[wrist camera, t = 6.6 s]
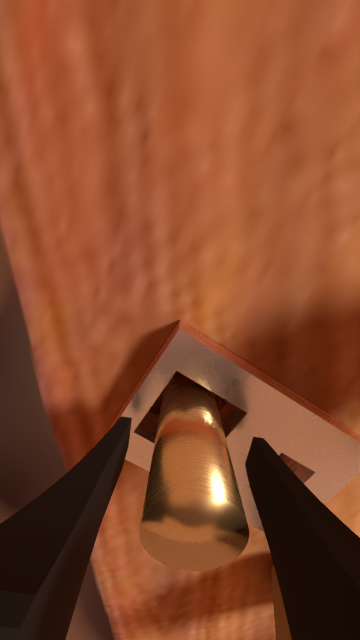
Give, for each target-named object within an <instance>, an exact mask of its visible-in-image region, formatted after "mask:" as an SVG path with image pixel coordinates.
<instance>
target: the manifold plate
mask: <svg viewBox="0 0 360 640" xmlns="http://www.w3.org/2000/svg"><path fill="white" fill-rule="evenodd" d="M176 371H178V372H180V373H181V374H183V375H185V376H186V377H188V378H190V379H192V380H193V381H195V382H197V383H198V384H200V385H202V386H203V387H205V388H207V389H208V390H210V391H212V392H213V393H215V394H217V395H218V396H220V397H222V398H223V399H225V400H227V403H226V404H225V405H224V406H223V407H222V409H221V410H220V411H219V415H220V419H221V422H222V426H223V430H224V434H225V438H226V442H227V446H228V450H229V454H230V457H231V461H232V465H233V469H234V473H235V477H236V481H237V485H238V489H239V492H240V496H241V500H242V504H243V508H244V512H245V516H246V520H247V523H248V524H250V525H252V526H254V527H256V528H258V529H260V530H262V531H264V529H263V526H262V523H261V520H260V517H259V514H258V511H257V508H256V505H255V501H254V498H253V495H252V492H251V489H250V485H249V481H248V477H247V472H246V467H245V462H246V459H247V456H248V452H249V449H250V446H251V442H252V439H253V437H260V438H264V439H265V440H266V441H267V442H268V444H269V445H270V446H271V447H272V448H273V449H274V451H275V452H276V453H277V454H278V455H280V454H281V453H283V454H282V455H281V456H280V457H281V459H282V460H283V461H284V462H285V463H286V464H287V466H288V467H289V468H290V469H291V470H292V471H293V472H294V473H295V475H296V476H297V477H298V478H299V479H300V480H301V481H302V482H303V483H304V484H305V485H306V487H307V488H308V489H309V490H310V491H311V492H312V493H313V494H314V495H315V496H316V497H317V498H318V499H319V500H320V501H321V502H322V503H323V504H325V503H326V502H328V501H329V500H330V499H331V498H332V497H333V496H334V495H335V494H337V493H338V492H339V491H340V490H341V489H342V488H343V487H345V486H346V485H347V484H348V483H349V482H350V481H351V480H352V479H354V478H355V477H356V476H357V475H358V474H359V473H360V436H359V435H357V434H356V433H355V432H354V431H353V430H352V429H351V428H350V427H349V426H347V425H346V424H344V423H343V422H341V421H340V420H338V419H336V418H335V417H333V416H332V415H330V414H328V413H327V412H325V411H324V410H322V409H321V408H319V407H317V406H316V405H314V404H313V403H311V402H310V401H308V400H306V399H305V398H303V397H302V396H300V395H298V394H297V393H295V392H294V391H292V390H291V389H289V388H287V387H286V386H284V385H283V384H281V383H280V382H278V381H276V380H275V379H273V378H272V377H270V376H268V375H267V374H265V373H264V372H262V371H261V370H259V369H257V368H256V367H254V366H253V365H251V364H250V363H248V362H246V361H245V360H243V359H242V358H240V357H238V356H237V355H235V354H234V353H232V352H231V351H229V350H227V349H226V348H224V347H223V346H221V345H220V344H218V343H216V342H215V341H213V340H212V339H210V338H208V337H207V336H205V335H204V334H202V333H201V332H199V331H197V330H196V329H194V328H193V327H191V326H190V325H188V324H186V323H185V322H183V321H182V320H179V322H178V323H177V325H176V326H175V328H174V329H173V331H172V332H171V334H170V335H169V337H168V338H167V340H166V341H165V343H164V344H163V346H162V348H161V349H160V351H159V352H158V354H157V355H156V357H155V358H154V360H153V361H152V363H151V364H150V366H149V367H148V369H147V370H146V372H145V373H144V375H143V376H142V378H141V379H140V381H139V382H138V384H137V385H136V387H135V388H134V390H133V391H132V393H131V394H130V396H129V397H128V399H127V400H126V402H125V403H124V405H123V406H122V408H121V409H120V411H119V412H118V414H117V415H116V417H115V418H114V420H113V422H112V424H111V426H110V428H109V430H110V429H111V428H112V427H113V425H114V424H115V423H116V422H117V420H118V419H119V418H120V417H121V416H123V417H129V418H132V421H131V430H130V438H129V446H128V450H127V453H126V457H125V460H127V461H129V462H131V463H133V464H135V465H137V466H139V467H141V468H143V469H145V470H147V471H149V472H150V466H151V461H152V455H153V449H154V443H155V438H156V432H157V426H158V421H159V416H157V415H156V414H154V413H152V412H150V411H149V409H150V408H151V406H152V405H153V404H154V402H155V401H156V399H157V398H158V396H159V395H160V394H161V392H162V391H163V389H164V388H165V387H166V385H167V384H168V382H169V381H170V379H171V378H172V377H173V375H174V374H175V372H176ZM109 430H108V431H109Z"/></svg>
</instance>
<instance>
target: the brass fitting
mask: <svg viewBox="0 0 360 640" xmlns="http://www.w3.org/2000/svg"><path fill="white" fill-rule="evenodd" d="M248 538H249V528H248V524H247V520H246V516H245V512H244V508H243V504H242V500H241V496H240V492H239V489H238V485H237V481H236V477H235V473H234V469H233V465H232V461H231V457H230V454H229V450H228V446H227V442H226V438H225V434H224V430H223V426H222V422H221V419H220V415H219V411H218V407H217V403H216V399H215V395H214V393H213V392H212V391H210V390H208V389H207V388H205V387H203V386H202V385H200V384H198V383H197V382H195V381H193V380H192V379H190V378H188V377H186V376H185V375H183V374H181V375H178V376H176V377H174V378H173V379H171V380H170V381H169V382H168V384H167V385H166V387H165V389H164V392H163V398H162V403H161V409H160V415H159V421H158V426H157V432H156V438H155V443H154V449H153V455H152V461H151V466H150V472H149V478H148V483H147V489H146V495H145V501H144V506H143V512H142V518H141V523H140V539H141V542H142V544H143V546H144V548H145V549H146V551H147V552H148V553H149V554H150V555H151V556H152V557H153V558H155V559H156V560H157V561H159V562H161V563H163V564H165V565H167V566H169V567H172V568H176V569H180V570H186V571H205V570H211V569H215V568H218V567H221V566H223V565H226V564H228V563H230V562H231V561H233V560H234V559H236V558H237V557H238V556H239V555H240V554H241V553H242V551H243V550H244V548H245V547H246V545H247V542H248Z"/></svg>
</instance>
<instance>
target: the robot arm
mask: <svg viewBox="0 0 360 640" xmlns="http://www.w3.org/2000/svg"><path fill="white" fill-rule="evenodd" d="M131 421H132V418H129V417H123V416H121V417H120V418H119V419H118V420H117V422H116V423H115V424H114V425H113V427H112V428H111V429H110V430H109V431H108V432H107V434H106V435H105V436H104V437H103V438H102V439H101V440H100V441H99V442H98V443H97V445H96V446H95V447H94V448H93V449H92V450H91V451H90V452H89V453H88V454H87V455H86V456H85V457H84V458H83V459H82V460H81V461H80V462H78V463H77V464H76V465H75V466H74V467H73V468H72V469H71V470H70V471H69V472H67V473H66V474H65V475H64V476H63V477H62V478H61V479H59V480H58V481H57V482H56V483H55V484H53V485H52V486H51V487H50V488H48V489H47V490H46V491H45V492H44V493H42V494H41V495H40V496H38V497H37V498H36V499H34V500H33V501H32V502H30V503H29V504H28V505H26V506H25V507H23V508H22V509H21V510H19V511H18V512H16V513H15V514H14V515H12V516H11V517H9V518H8V519H7V520H5V521H4V522H2V523H1V524H0V640H65V639H66V635H67V632H68V629H69V625H70V622H71V619H72V615H73V612H74V608H75V605H76V602H77V598H78V595H79V592H80V589H81V585H82V582H83V579H84V576H85V572H86V569H87V566H88V563H89V559H90V556H91V553H92V550H93V547H94V543H95V540H96V537H97V534H98V531H99V528H100V525H101V522H102V519H103V517H104V514H105V511H106V509H107V506H108V504H109V501H110V498H111V496H112V493H113V491H114V488H115V486H116V483H117V480H118V478H119V475H120V473H121V470H122V467H123V464H124V460H125V457H126V453H127V450H128V446H129V438H130V430H131ZM245 467H246V472H247V477H248V481H249V485H250V489H251V492H252V495H253V498H254V501H255V505H256V508H257V511H258V514H259V517H260V520H261V523H262V526H263V529H264V532H265V535H266V538H267V541H268V545H269V548H270V552H271V555H272V559H273V563H274V567H275V571H276V575H277V579H278V583H279V587H280V591H281V595H282V599H283V604H284V608H285V612H286V616H287V621H288V625H289V630H290V634H291V639H292V640H360V538H359V537H358V536H357V535H356V534H355V533H354V532H353V531H351V530H350V529H349V528H348V527H347V526H346V525H345V524H344V523H343V522H342V521H341V520H340V519H339V518H337V517H336V516H335V515H334V514H333V513H332V512H331V511H330V510H329V509H328V508H327V507H326V506H325V505H324V504H323V503H322V502H321V501H320V500H319V499H318V498H317V497H316V496H315V495H314V494H313V493H312V492H311V491H310V490H309V489H308V488H307V487H306V485H305V484H304V483H303V482H302V481H301V480H300V479H299V478H298V477H297V476H296V475H295V473H294V472H293V471H292V470H291V469H290V468H289V467H288V466H287V464H286V463H285V462H284V461H283V460H282V459H281V457H280V456H279V455H278V454H277V453H276V452H275V451H274V449H273V448H272V447H271V446H270V445H269V444H268V442H267V441H266V440H265V439H264V438H260V437H253V439H252V442H251V446H250V449H249V452H248V456H247V459H246V462H245Z"/></svg>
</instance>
